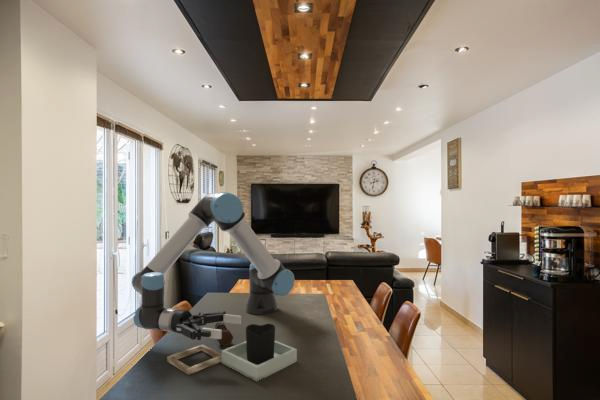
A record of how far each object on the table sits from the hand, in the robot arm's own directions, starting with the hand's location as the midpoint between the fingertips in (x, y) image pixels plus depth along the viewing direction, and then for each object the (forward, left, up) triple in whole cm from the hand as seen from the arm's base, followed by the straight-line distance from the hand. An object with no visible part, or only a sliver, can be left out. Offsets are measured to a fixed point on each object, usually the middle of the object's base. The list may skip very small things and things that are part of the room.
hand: (231, 326), depth 112 cm
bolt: (-8, -17, -11) cm, 22 cm away
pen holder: (-5, +9, -10) cm, 14 cm away
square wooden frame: (+9, -7, -10) cm, 15 cm away
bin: (-4, +9, -10) cm, 14 cm away
